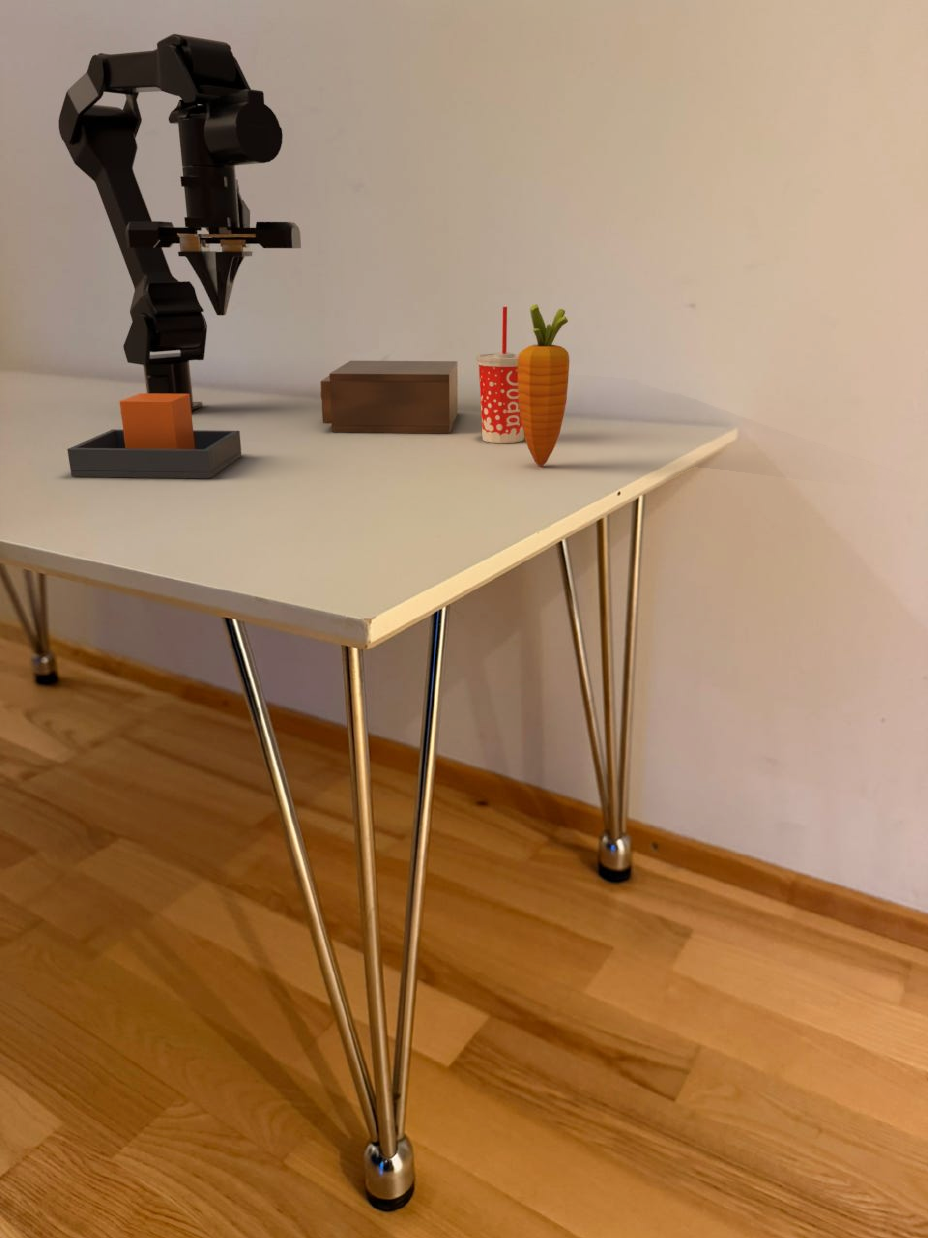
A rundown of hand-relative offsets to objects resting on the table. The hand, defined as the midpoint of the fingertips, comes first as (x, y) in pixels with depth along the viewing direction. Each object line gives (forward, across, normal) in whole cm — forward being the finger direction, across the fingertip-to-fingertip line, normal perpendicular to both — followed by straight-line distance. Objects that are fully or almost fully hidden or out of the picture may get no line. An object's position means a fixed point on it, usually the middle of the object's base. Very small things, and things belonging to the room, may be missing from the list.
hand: (221, 315), depth 111 cm
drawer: (+12, -18, -1) cm, 22 cm away
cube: (+12, 0, +25) cm, 28 cm away
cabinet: (+12, -20, 0) cm, 24 cm away
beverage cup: (+12, -33, +10) cm, 37 cm away
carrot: (+12, -37, +24) cm, 46 cm away
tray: (+12, 0, +25) cm, 28 cm away
